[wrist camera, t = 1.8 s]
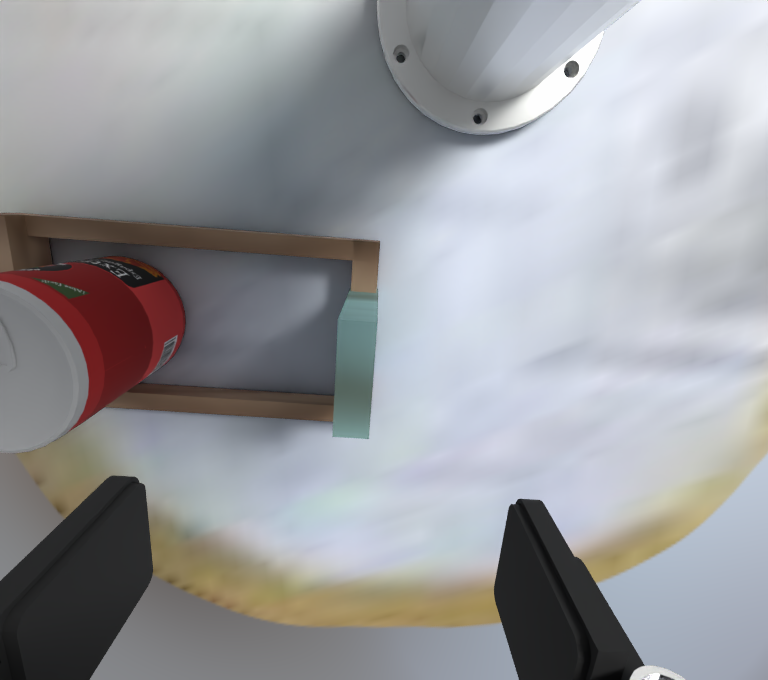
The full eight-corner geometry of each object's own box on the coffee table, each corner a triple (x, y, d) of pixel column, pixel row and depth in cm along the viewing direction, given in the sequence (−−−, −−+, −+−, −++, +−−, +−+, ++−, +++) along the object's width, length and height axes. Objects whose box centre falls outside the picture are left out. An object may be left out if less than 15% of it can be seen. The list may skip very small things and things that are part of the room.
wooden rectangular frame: (19, 213, 26) (-158, 212, 18) (381, 240, 27) (382, 253, 18) (48, 392, 30) (-87, 465, 21) (369, 413, 30) (364, 491, 22)
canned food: (173, 247, 27) (41, 268, 17) (202, 363, 29) (103, 446, 19) (57, 261, 27) (-144, 291, 17) (95, 375, 30) (-61, 464, 19)
